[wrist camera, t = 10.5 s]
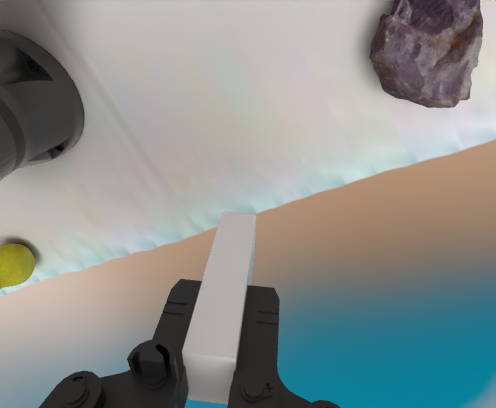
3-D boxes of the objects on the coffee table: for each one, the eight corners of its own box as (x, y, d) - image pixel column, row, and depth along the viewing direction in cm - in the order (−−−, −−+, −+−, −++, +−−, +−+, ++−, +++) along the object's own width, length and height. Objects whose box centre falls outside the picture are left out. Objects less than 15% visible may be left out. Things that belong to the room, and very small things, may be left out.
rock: (463, -40, 30) (349, 1, 33) (520, -68, 22) (365, -11, 25) (469, 91, 35) (369, 118, 37) (518, 105, 27) (388, 138, 29)
